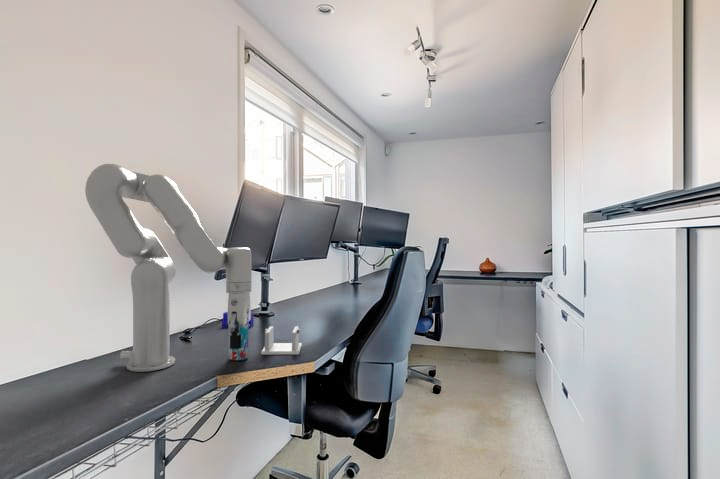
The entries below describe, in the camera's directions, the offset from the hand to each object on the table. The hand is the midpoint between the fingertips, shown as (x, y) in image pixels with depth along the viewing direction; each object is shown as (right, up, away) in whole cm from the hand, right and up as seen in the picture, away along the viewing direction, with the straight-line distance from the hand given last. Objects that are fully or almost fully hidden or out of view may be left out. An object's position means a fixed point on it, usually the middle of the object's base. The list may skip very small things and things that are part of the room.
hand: (238, 344), depth 121 cm
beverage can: (0, -5, 0) cm, 5 cm away
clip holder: (+12, -5, +10) cm, 16 cm away
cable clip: (-14, -5, +44) cm, 46 cm away
